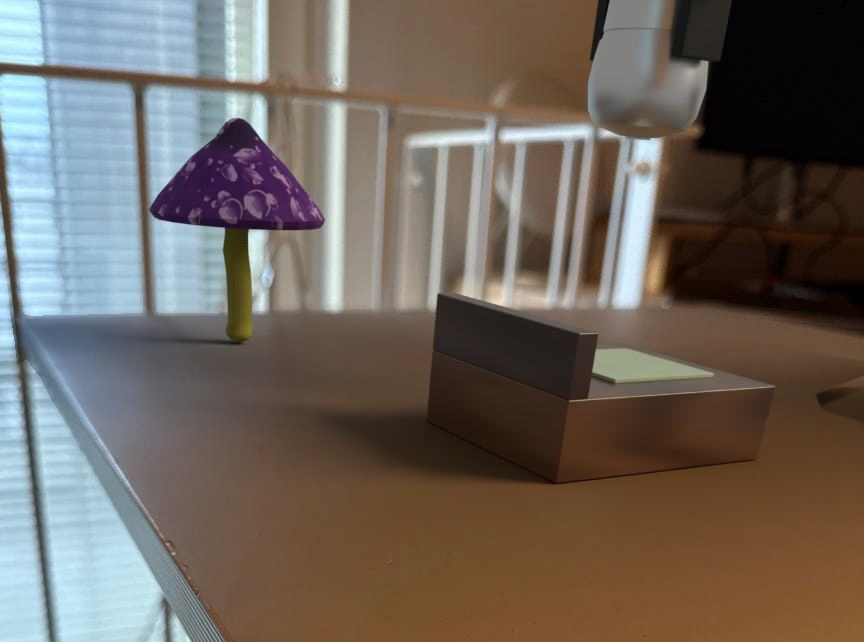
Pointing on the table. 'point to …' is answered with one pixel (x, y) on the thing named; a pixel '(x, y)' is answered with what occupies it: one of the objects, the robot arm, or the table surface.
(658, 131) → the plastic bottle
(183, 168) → the decorative mushroom
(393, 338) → the table surface
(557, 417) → the metal stand with backrest
